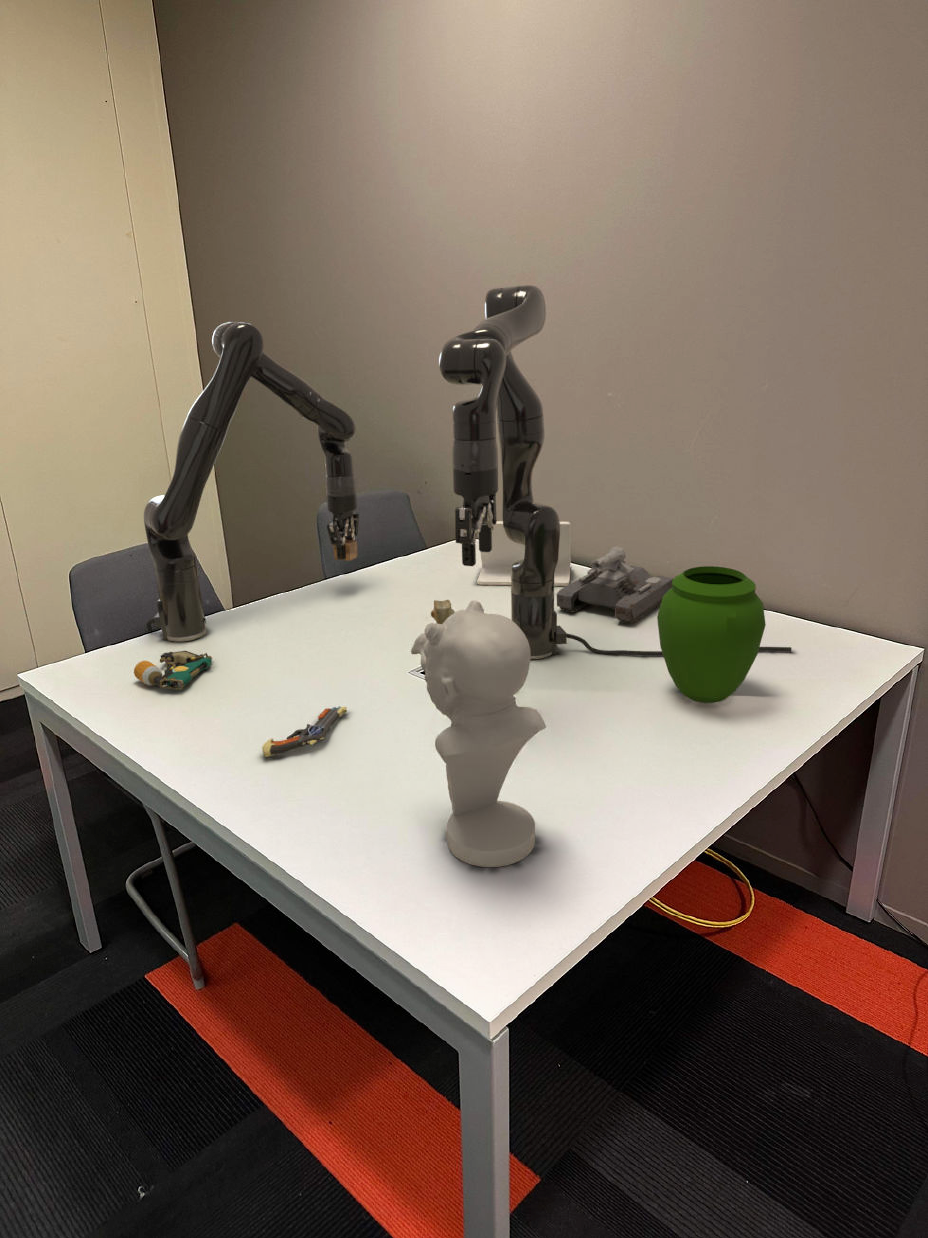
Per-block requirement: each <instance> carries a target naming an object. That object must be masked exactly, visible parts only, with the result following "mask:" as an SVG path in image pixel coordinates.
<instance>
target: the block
mask: <svg viewBox="0 0 928 1238" xmlns="http://www.w3.org/2000/svg"><path fill="white" fill-rule="evenodd" d="M357 543H358V541H357V539H354V540H347V539H345V551H346V558H345V559H344V560H342V559H338V558H337V549H336V545H332V548H333V558H334V560H336V561H346V562H347V561H348V562H351V561H353V560H354V559H356V558H357V557H359V556H358V544H357Z"/></svg>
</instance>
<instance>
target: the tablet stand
mask: <svg viewBox="0 0 928 1238" xmlns="http://www.w3.org/2000/svg"><path fill="white" fill-rule="evenodd" d="M493 526H494V528H493V530H492V550H491V551H490V552H481V551H479V552H480V557H481V558H480V559H481V570H480V573H479V575H478V577H477V580H476V581H477V582H476V584H478V585H484V586H485V585H486V586H487V585H489V586H490V585H491V586H511V567H512V564H513V563H515V562H516V561H519V560H522V559H524V554H525V545H521V544H518V543H515V542H513V541H511V540H510V539H509V538H508V537H507V536H506V534H505V531H504V528H503V520H497V522H496V525H493ZM477 537H478V539H479V533H477ZM571 560H572V558H571V522H569V521H560V540H559V556H558V563H557V566H556V568H555V572H554V587H556V586H557V587H566V586H567V585H569V584H570V580H571V579H570V578H571V565H572V564H571Z"/></svg>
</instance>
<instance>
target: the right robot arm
mask: <svg viewBox="0 0 928 1238" xmlns="http://www.w3.org/2000/svg"><path fill="white" fill-rule="evenodd" d="M546 307H547V306H546V300H545V296H544V294H543V291H542V289H541V288H540V287H538V286H536V285H532V284H522V285H511V286H502V287H495V288H490V289H489V290H488V291H487V292H486V294H485V299H484V320H482V321H480V323H479V324H478V325H476V326H475V327H474V328H473V329H472V330H470V331H466V332H464V333H460V334H458V335H456V336H453V337H452V338H450V339H449V340H448V341H446V343H445V344H444V345H443V347H442V348H441V351H440V354H439V358H438V368H439V371H440V374H441V376H442V377H443V378H444V380H445V381H446V382H448V383H449V384H452V385H456V386H481V389H480V392H479V393H478V395H477V396H476V397H473V398H469V399H463V400H459V401H457V402H456V403H454V405H453V408H452V433H453V439H452V441H453V442H452V451H451V453H452V455H451V456H452V476H453V477H452V480H453V481H452V483H453V492H454V494H455V495H457V496H461V498H463V500H462V506H460V507H458V506H456V507H455V510H454V521H455V523H454V524H455V525H454V526H455V527H454V528H455V529H454V530H455V543H456V544H460V545H461V564H462V565H463V566H465V567H474V566H476V564H477V556H476V555H477V552H476V549H477V548H476V547H477V546H476V542H477V537H478V533H479V538H478V550H479V552H480V551H481V552H490V551H491V550H492V530H493V528H494V526H493V525H496V522H497V521H498V520H497V498H496V497H497V493H498V491H499V453H498V443H497V433H498V440H499V448H500V450H499V451H500V462H501V464H500V465H501V476H502V477H501V478H502V511H501V512H502V515H501V516H502V521H503V528H504V531H505V534H506V536H507V537H508V538H509V539H510V540H511V541H513V542H515V543H518V544H521V545H525V554H524V559H522V560H519V561H516V562H515V563H513V564H512V567H511V585H510V588H511V589H510V597H511V599H510V603H511V604H510V606H511V607H510V609H511V610H510V615H511V617H510V619H511V620H512V621H513V622H514V623H515V624H516V625H517V626H518V627H519V628H520V629H521V630H522V632H523V633H524V634H525V636H526V638H527V640H528V643H529V646H530V652H531V653H530V655H531V656H530V660H540V659H545V658H548V657H550V656H552V655H557V654H558V653H557V650H558V649H557V648H558V647H557V645H566V644H568V643H567V642H568V641H567V640H568V639H571V640H574V641H577V642H579V643H581V644H582V645H583V646H584V647H585V648H586V649H587V650H588V652H589V651H590V652H592V653H594V654H597V655H605V656H606V655H607V656H615V655H617V656H618V655H621V656H622V655H623V656H648V657H649V656H651V657H652V656H654V657H655V656H657V657H658V656H660V657H661V656H663V653H662V650H653V651H652V650H626V649H625V650H624V649H623V650H622V649H621V650H620V649H619V650H618V649H616V650H614V649H613V650H606V649H605V650H603V649H598V648H595V647H593V646H591V645H590V644H589V642H588V641H587V640H586V639H584V638H583V637H580V636H578V635H576V634H571V633H567V632H566V631H565V629H564V628H563V627H562V626H561V625H558V613H557V612H556V611H555V586H554V572H555V568H556V566H557V563H558V556H559V540H560V522H561V521H560V517H559V514H558V512H557V511H556V509H554V507H552V506H549V505H547V504H543V503H539V502H536V501H534V495H533V482H532V481H533V480H532V479H533V472H534V468H535V465H536V463H537V461H538V458H539V456H540V454H541V452H542V450H543V446H544V443H545V420H544V407H543V404H542V401H541V399H540V397H539V396H538V394H537V392H536V391H535V389H534V388H533V386H532V385H531V384H530V383H529V381H528V380H527V379H526V377H525V376H524V375H523V373H522V372H521V370H520V369H519V367H518V365H517V363H516V361H515V360H514V357H513V353H512V350H513V349H514V348H516V347H517V346H518V345H520V344H522V343H523V342H525V341H527V340H528V339H530V338H532V337H534V336H537V335H538V334H540V333H541V332H542V330H543V328H544V326H545V324H546V317H547V311H546V310H547V309H546ZM496 421H497V422H496ZM792 651H793V650H792V647H791V646H760V647H759V650H758V652H792ZM663 657H664V656H663Z"/></svg>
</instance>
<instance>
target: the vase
mask: <svg viewBox="0 0 928 1238" xmlns="http://www.w3.org/2000/svg"><path fill="white" fill-rule="evenodd" d="M673 578H674V579H673V580H672V588H671V589H670V590H669V591H667V592H666V593H665V595H664V596H663V598H662V602H661V604H660V605H659V608H658V613H657V617H656V618H657V626H658V639H659V647H660V651H662V653H663V659H664V662H665V665H666V668H667V671H668V674H669V677H670V678H671V679H672V681H673V683H674V686H675V687H676V689H678V690H679V692H680V693H681V694H682V695H683V696H684V698H687V699H689V700H690V701H693V702H696V703H700V704H716V703H717V704H718V703H720V702H724V701H725V700H727V699H728V698H729V697H730V696H732V695H733V694H734V693H735V692H736V691H737V690H738V688H739V687H740V686H741V685H742V683H743V682H744V681H745V680H746V678H747V675H748V674H749V672H750V670H751V668H752V666H753V664H754V662H755V660H756V658H757V656H758V654H759V651H758V650H759V647H761V643H762V639H763V636H764V632H765V629H766V626H767V624H766V615H765V609H764V602H763V601H762V599H761V598H760V597H759V595H758V594H757V593H756V588H757V585H756V583H755V582H754V581H753V580H752V579H751V578H750V577H748V576H746V574H744V573H743V572H742V571H739V570H736V569H734V568H730V567H724V566H712V565H711V566H707V565H705V566H696V567H691V568H687V569H686V570H684V571H683V572H681V573H680V574H678V575H676V576H675V577H673Z"/></svg>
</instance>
